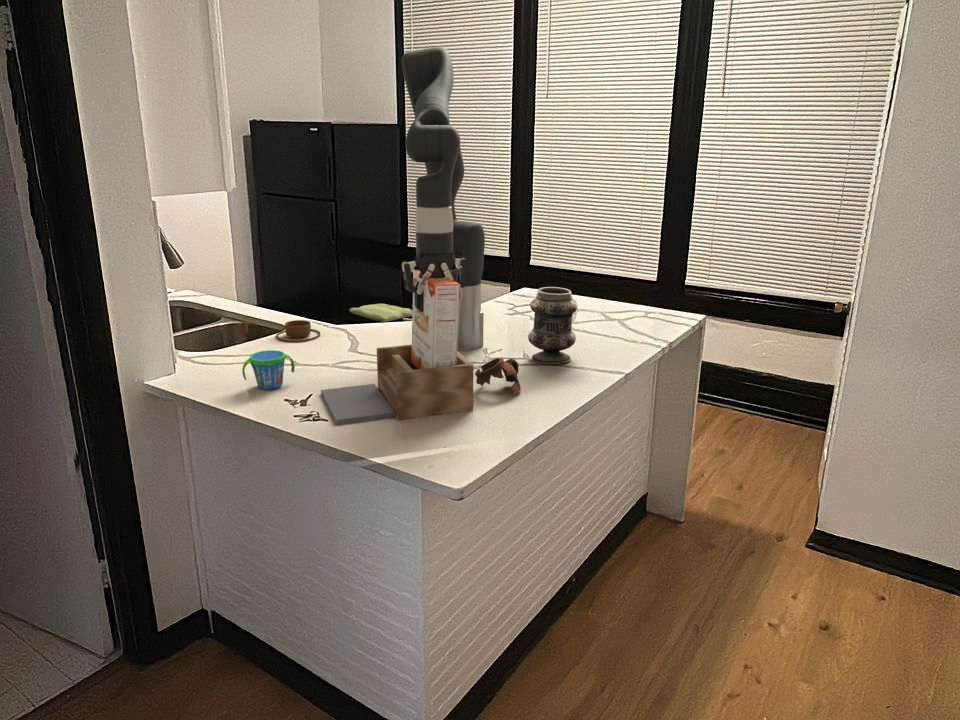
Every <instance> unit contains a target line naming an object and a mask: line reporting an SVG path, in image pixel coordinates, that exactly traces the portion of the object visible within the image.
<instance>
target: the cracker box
mask: <svg viewBox="0 0 960 720" xmlns="http://www.w3.org/2000/svg"><path fill="white" fill-rule="evenodd" d="M412 273H413V274H412V275H413V276H412V280H413V286H415V284H416V282H417V277H418V275H419V273H420V271H419V270H416V271H413V272H412ZM422 278H423V277H422ZM422 294H423V300H424V308H423V312H419V311H418V309H417V308H416V307H415V296H414V293H413V292H412V310H411V311H412V316H411V318H412V319H411V321H412V323H411V345H412V348H411V362H412V363H413V364H414V365H415V366H416V367H417V368H418V369H426V368H435V367H444V366H453V365H456V364H457V351H458V350H457V343H458V324H459V304H460V284H458V283H457V282H455V281H453V280H452V279H446V277H444V278H429V280H427V281H426V285H425V287H424V289H423V292H422Z"/></svg>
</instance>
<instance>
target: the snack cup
mask: <svg viewBox="0 0 960 720" xmlns="http://www.w3.org/2000/svg"><path fill="white" fill-rule="evenodd" d="M287 358H288V359H290V365H291V373H293V374H294V373H295V369H296V368H295V367H296V366H295V362H294V360H293V358H292V357H291V355H289V354H287V353H285V352H284V351H281V350H271V349H270V350H262V351H258V352H254V353H252V354H251V355H250V356H249V358H248V359H246V360H245V361H244V363H243V365H242V370H241V373H242V377H243V379H244V380H245V381H247V376H246V373H245V369H246V367H247V366H248V364H250V365H251V368H252V369H253V373H254V378H255V381H256V384H257V387H258V388H259V389H262V390H267V391H268V390H275V389H280V387H282V385H283V382H284V374H285V373H284V370H285V363H286V362H285V361H286V359H287Z"/></svg>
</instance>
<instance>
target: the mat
mask: <svg viewBox="0 0 960 720" xmlns="http://www.w3.org/2000/svg"><path fill="white" fill-rule="evenodd" d="M320 394H321V397H322V399H323V401H324V403H325V405H326V408H327V409H328V411H329V414H330V415H331V417H332V420H333V422H334V424H335V425H343V424H351V423H358V422H359V423H360V422H366V421H372V420H374V421H375V420H380V419H381V420H382V419H387V418H388V419H390V418H395V417H396V415H395V412H394V410H393V409H392V408H391V406H390V405H389V403H388V402H387V401H386V399H385V398H384V396H383V395H382V394H381V392H380V391H379V389H378V385H376V384H375V383H370V384H360V385H352V386H343V387H334V388H327V389H325V388H324V389H320Z"/></svg>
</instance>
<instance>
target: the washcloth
mask: <svg viewBox="0 0 960 720" xmlns="http://www.w3.org/2000/svg"><path fill="white" fill-rule="evenodd" d="M412 311H413V310H412V309H410V308H406V307H404V308H403V307H400V306H397V305H392V304H391V305H390V304H386V303H375V304H368V305H367V304H365V305H362V306H360V307H351V308H349V312H350V313H352V314H354V315H357V316H360V317H364V318H365V319H370V320H375V321H378V322H382V323H388V322H391V321H397V320H398V319H403V318H407V317H408V318H409V317H412Z"/></svg>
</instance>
